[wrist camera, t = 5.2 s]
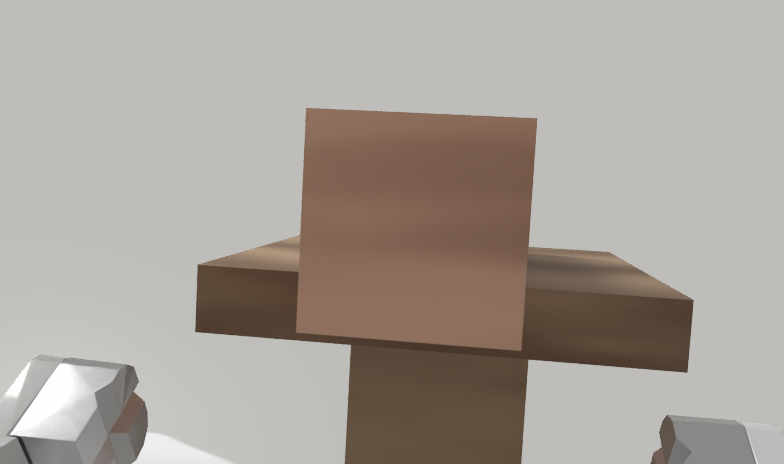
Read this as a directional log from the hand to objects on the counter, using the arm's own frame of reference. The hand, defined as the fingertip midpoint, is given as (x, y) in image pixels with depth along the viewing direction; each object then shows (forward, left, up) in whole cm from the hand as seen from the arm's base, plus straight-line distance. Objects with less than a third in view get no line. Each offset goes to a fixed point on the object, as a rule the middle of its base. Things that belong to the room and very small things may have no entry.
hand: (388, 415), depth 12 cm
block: (-9, +7, +1) cm, 11 cm away
